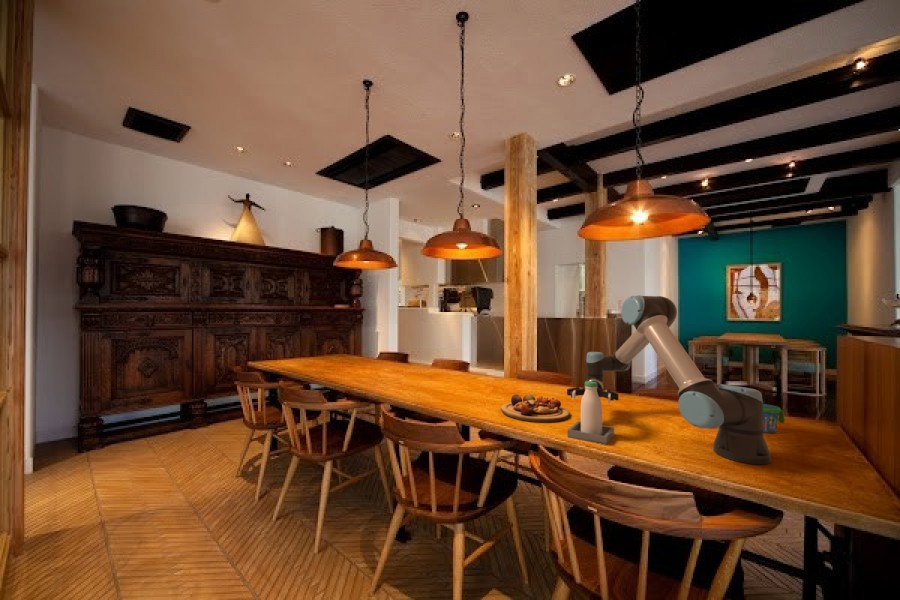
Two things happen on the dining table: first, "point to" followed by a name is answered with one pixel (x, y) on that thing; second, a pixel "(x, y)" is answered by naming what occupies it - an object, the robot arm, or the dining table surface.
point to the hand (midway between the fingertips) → (590, 398)
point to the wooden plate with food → (535, 409)
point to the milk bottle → (591, 410)
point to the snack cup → (771, 418)
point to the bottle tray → (603, 439)
